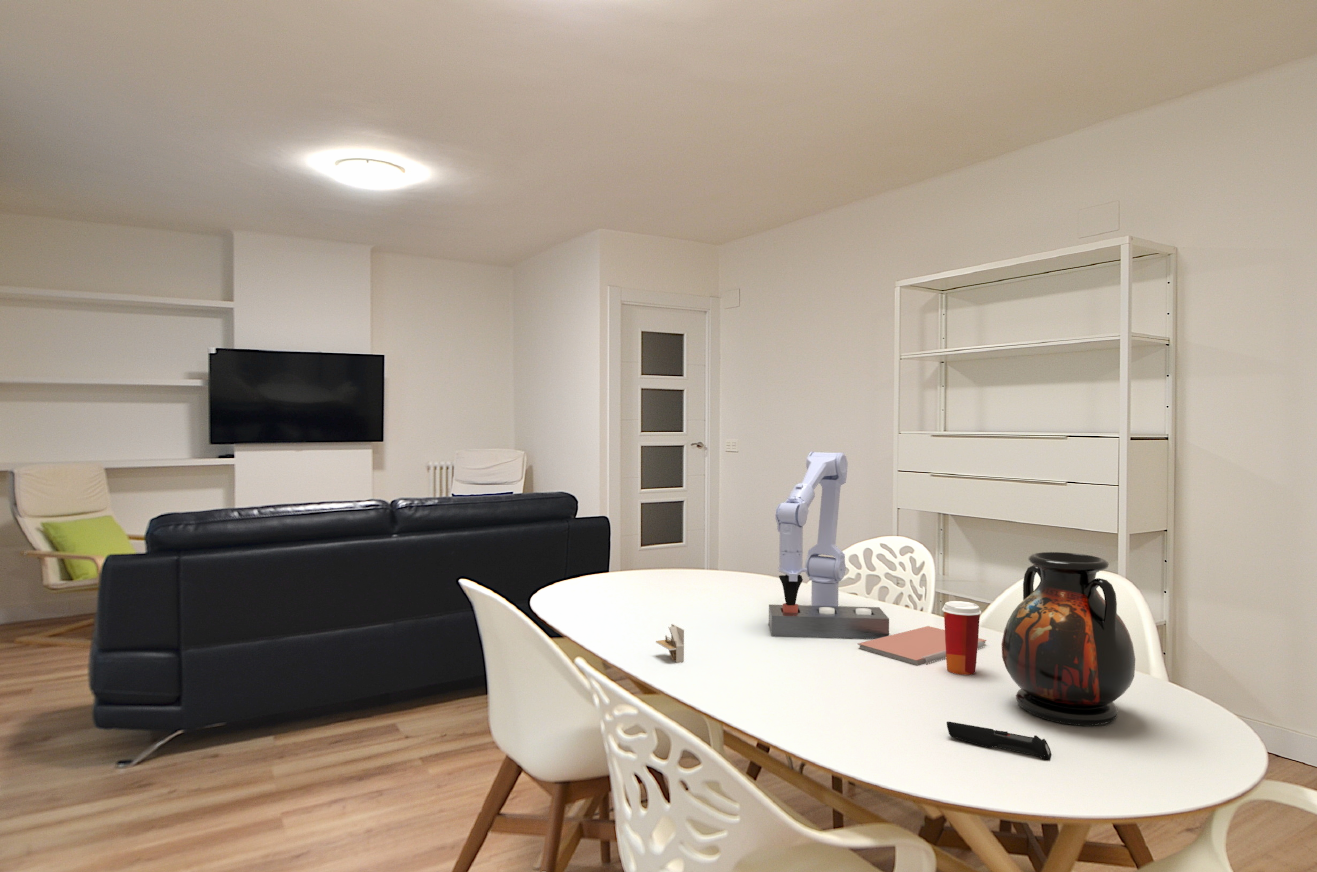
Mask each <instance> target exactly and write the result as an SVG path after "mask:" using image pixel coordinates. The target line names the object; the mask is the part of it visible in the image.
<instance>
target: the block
mask: <svg viewBox="0 0 1317 872" xmlns="http://www.w3.org/2000/svg"><path fill="white" fill-rule="evenodd" d="M820 607H831V608H834V609H835V614H822V613H819V608H820ZM857 608H868V609H871V615H861V614H856V609H857ZM768 627H769V631H770V632H769V633H770V635H771V637H782V638H783V637H785V638H786V637H787V638H817V639H818V638H819V639H820V638H821V639H823V638H825V639H857V640H874V639H878V638H882V637H886V636H890V617H888V615H886V613H885V612H884V610H882V608H880V607H879V606H842V605H838V606H811V605H805V604H803V605H800V604H798V613H784V612H783V604H768Z"/></svg>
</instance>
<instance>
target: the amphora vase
mask: <svg viewBox="0 0 1317 872" xmlns="http://www.w3.org/2000/svg"><path fill="white" fill-rule="evenodd" d="M1028 562H1030V563H1031V566H1028V567H1027V568H1026V571H1025V573H1024V576H1023V581H1022V582H1023V583H1022V591H1023V592H1022V593H1023V594H1022V595H1023V597H1022V601H1021V602H1020V603H1019V604H1018V605H1017V606H1016V607H1015V609H1014V610H1013V611H1012V612H1011V615H1010V616H1009V618H1008V620H1007V622H1006V625H1005V627H1004V630H1003V635H1002V640H1001V658H1002V661H1003V665H1004V667H1005V669H1006V671H1007V673H1008V674H1009V676H1010V677H1011V679H1012V680H1013V682H1014V683H1015V684H1016V685H1017V686H1018V687H1019V688H1020V689H1018V691H1017V692H1016V693H1015V700H1016V702H1017V704H1018V706H1019V707H1021V708H1022V709H1023V710H1025V711H1027V713H1029V714H1032V715H1034V716H1036V717H1039V718H1042V719H1043V720H1047V721H1051V722H1056V723H1059V724H1065V725H1073V726H1086V727H1087V726H1100V725H1104V724H1108V723H1111V722H1113V720H1115V719H1116V718H1117V717H1118V714H1119V709H1118V707H1117V705H1116V704H1115V703H1114V702H1115V701H1116V700H1118V699H1119V698H1120V697H1121V696H1123V695H1124V694H1125V693H1126V691H1127V690H1128V689H1129V688H1130V687H1131V685H1132V683H1133V681H1134V678H1135V670H1136V669H1135V668H1136V653H1135V648H1134V643H1133V640H1132V637H1131V635H1130V632H1129V630H1128V628H1127V626H1126V623H1125V622H1124V621H1123V619H1122V618H1121V617H1120V615H1119V614H1118V611H1117V608H1118V605H1117V604H1118V601H1117V594H1116V591H1115V589H1114V587H1113V584H1112V583H1111V582H1110V581H1108V580H1107V579H1104V578H1099V577H1097V578H1096V576H1097V573H1099V572H1100V571H1102V572H1103V571H1105V570H1107V569H1108V568H1109V562H1108V561H1107V560H1105V559H1104V558H1101V557H1098V556H1094V555H1088V554H1083V553H1076V552H1075V553H1074V552H1062V551H1061V552H1059V551H1056V552H1055V551H1049V552H1048V551H1046V552H1043V551H1042V552H1036V553H1032V554H1030V555H1029V557H1028ZM1037 574H1038V577H1039V579H1040V581H1039V584H1038V585H1037V587H1036V588H1035V589H1034V583H1035V576H1036V575H1037ZM1099 587H1100V588H1101V591H1102V593H1103V597H1104V598H1103V597H1102V595H1101V594H1100V593H1099V591H1098V590H1097V589H1098V588H1099Z"/></svg>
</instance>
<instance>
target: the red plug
mask: <svg viewBox="0 0 1317 872" xmlns="http://www.w3.org/2000/svg"><path fill="white" fill-rule="evenodd" d="M782 605H783V612H784V613H798V605H799V604H798V603H795V605H786V602H785V603H782Z"/></svg>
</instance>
